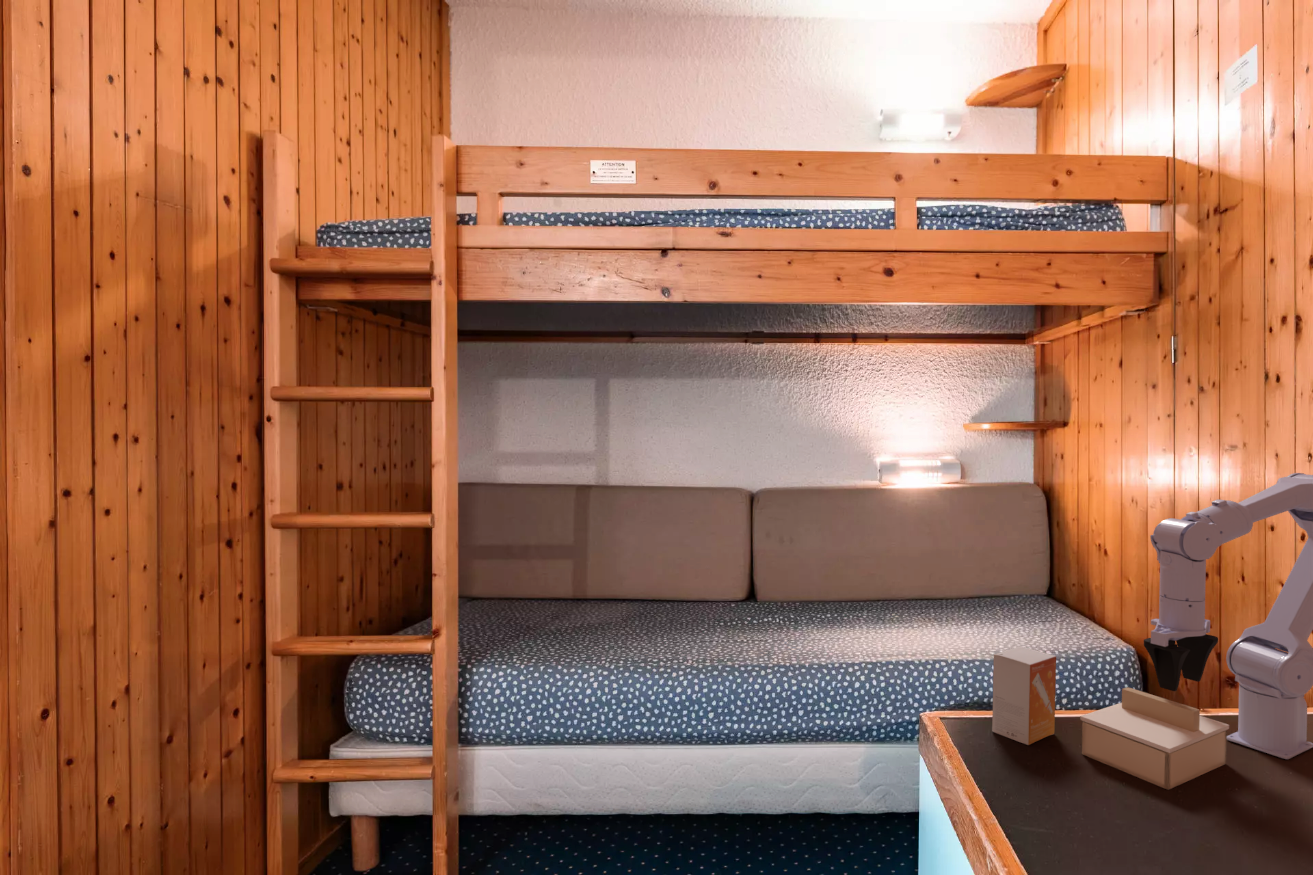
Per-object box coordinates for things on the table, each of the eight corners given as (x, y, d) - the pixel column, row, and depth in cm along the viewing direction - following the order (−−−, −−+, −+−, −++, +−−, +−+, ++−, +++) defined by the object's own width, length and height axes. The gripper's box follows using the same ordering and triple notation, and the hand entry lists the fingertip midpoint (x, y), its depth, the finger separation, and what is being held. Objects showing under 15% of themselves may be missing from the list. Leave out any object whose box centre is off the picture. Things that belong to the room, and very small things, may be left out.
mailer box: (1140, 732, 117) (1140, 702, 117) (1226, 763, 107) (1226, 730, 107) (1081, 754, 110) (1082, 721, 110) (1168, 789, 99) (1168, 754, 99)
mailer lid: (1140, 699, 118) (1140, 678, 117) (1229, 728, 107) (1229, 704, 107) (1080, 719, 110) (1080, 696, 110) (1169, 752, 99) (1170, 727, 99)
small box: (1029, 746, 112) (1030, 664, 112) (991, 731, 118) (992, 653, 117) (1056, 734, 117) (1057, 655, 117) (1018, 720, 122) (1019, 644, 122)
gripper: (1175, 586, 118) (1173, 667, 118) (1129, 597, 110) (1128, 684, 111) (1226, 595, 112) (1224, 681, 112) (1182, 607, 104) (1180, 699, 105)
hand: (1180, 684), depth 111 cm, fingers open, 7 cm apart
